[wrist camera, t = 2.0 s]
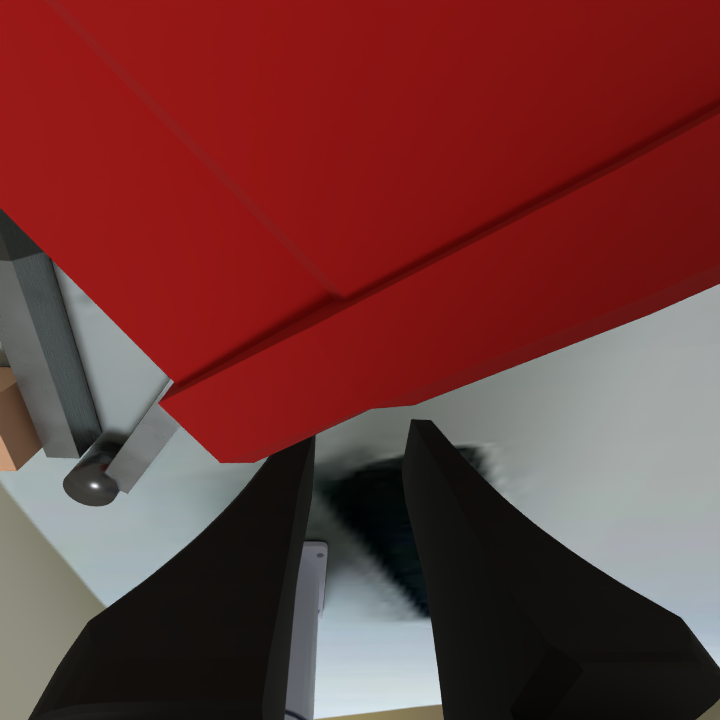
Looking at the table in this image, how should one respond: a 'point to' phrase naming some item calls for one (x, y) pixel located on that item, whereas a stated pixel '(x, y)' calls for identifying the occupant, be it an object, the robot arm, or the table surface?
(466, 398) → the table surface
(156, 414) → the tongs arm
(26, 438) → the block
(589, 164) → the red curved-top box
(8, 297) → the tongs handle
